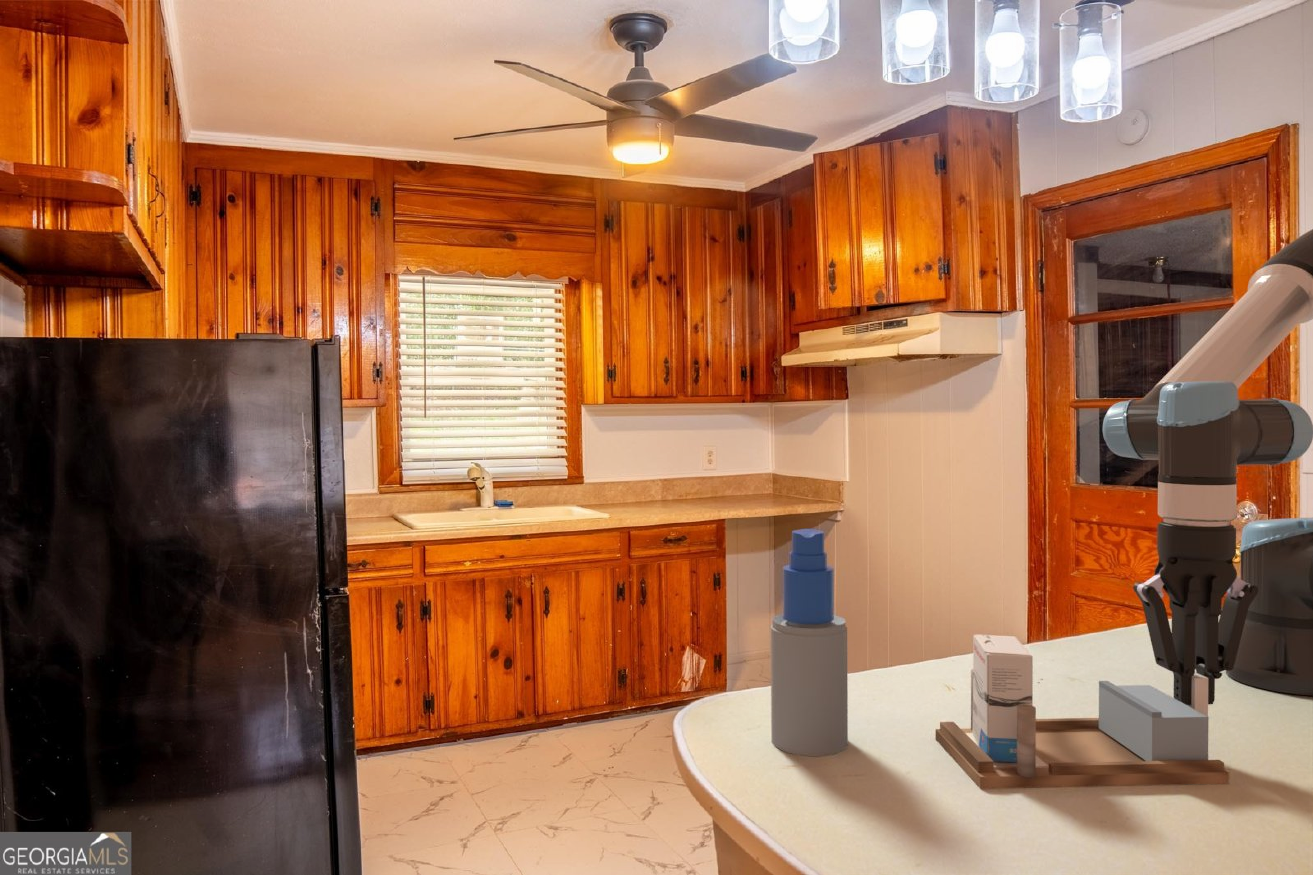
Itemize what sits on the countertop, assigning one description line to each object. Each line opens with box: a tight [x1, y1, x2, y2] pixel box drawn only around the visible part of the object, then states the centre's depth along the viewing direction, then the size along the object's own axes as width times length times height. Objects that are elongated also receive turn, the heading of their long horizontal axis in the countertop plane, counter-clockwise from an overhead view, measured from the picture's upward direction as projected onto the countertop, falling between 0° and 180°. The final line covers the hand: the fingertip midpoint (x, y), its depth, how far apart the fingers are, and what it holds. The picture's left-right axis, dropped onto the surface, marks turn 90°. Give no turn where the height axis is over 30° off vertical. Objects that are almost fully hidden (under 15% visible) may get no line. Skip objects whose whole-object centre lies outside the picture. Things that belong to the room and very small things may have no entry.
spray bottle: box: [770, 528, 849, 757], centre depth 107 cm, size 9×9×25 cm
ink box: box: [972, 634, 1034, 762], centre depth 101 cm, size 8×5×12 cm, turn 171°
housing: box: [1098, 680, 1209, 761], centre depth 101 cm, size 6×11×6 cm, turn 1°
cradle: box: [935, 668, 1230, 789], centre depth 101 cm, size 26×15×8 cm, turn 91°
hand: (1193, 732), depth 101 cm, fingers closed
